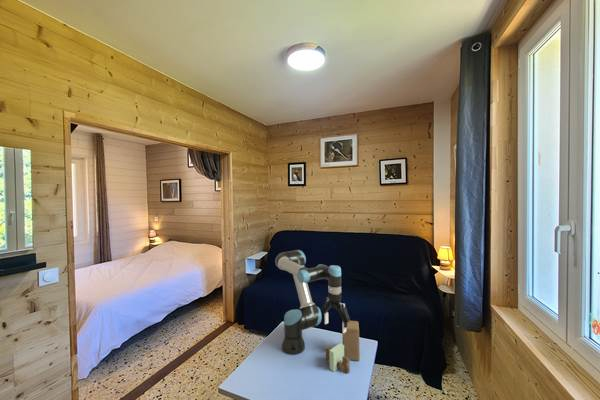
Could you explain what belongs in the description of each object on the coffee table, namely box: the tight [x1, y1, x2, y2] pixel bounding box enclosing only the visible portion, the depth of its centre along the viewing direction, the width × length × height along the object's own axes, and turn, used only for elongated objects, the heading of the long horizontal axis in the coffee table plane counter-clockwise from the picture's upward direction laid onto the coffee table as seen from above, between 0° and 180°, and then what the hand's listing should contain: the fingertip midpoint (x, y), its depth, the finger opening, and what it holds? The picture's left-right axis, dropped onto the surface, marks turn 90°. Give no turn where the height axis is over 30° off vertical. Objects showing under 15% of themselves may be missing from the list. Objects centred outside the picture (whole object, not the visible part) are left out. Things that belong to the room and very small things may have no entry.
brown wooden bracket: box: [325, 346, 351, 375], centre depth 146 cm, size 16×2×8 cm, turn 43°
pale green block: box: [329, 343, 344, 372], centre depth 145 cm, size 10×3×11 cm, turn 133°
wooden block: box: [342, 320, 361, 362], centre depth 155 cm, size 10×10×20 cm
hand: (335, 327), depth 147 cm, fingers open, 13 cm apart
